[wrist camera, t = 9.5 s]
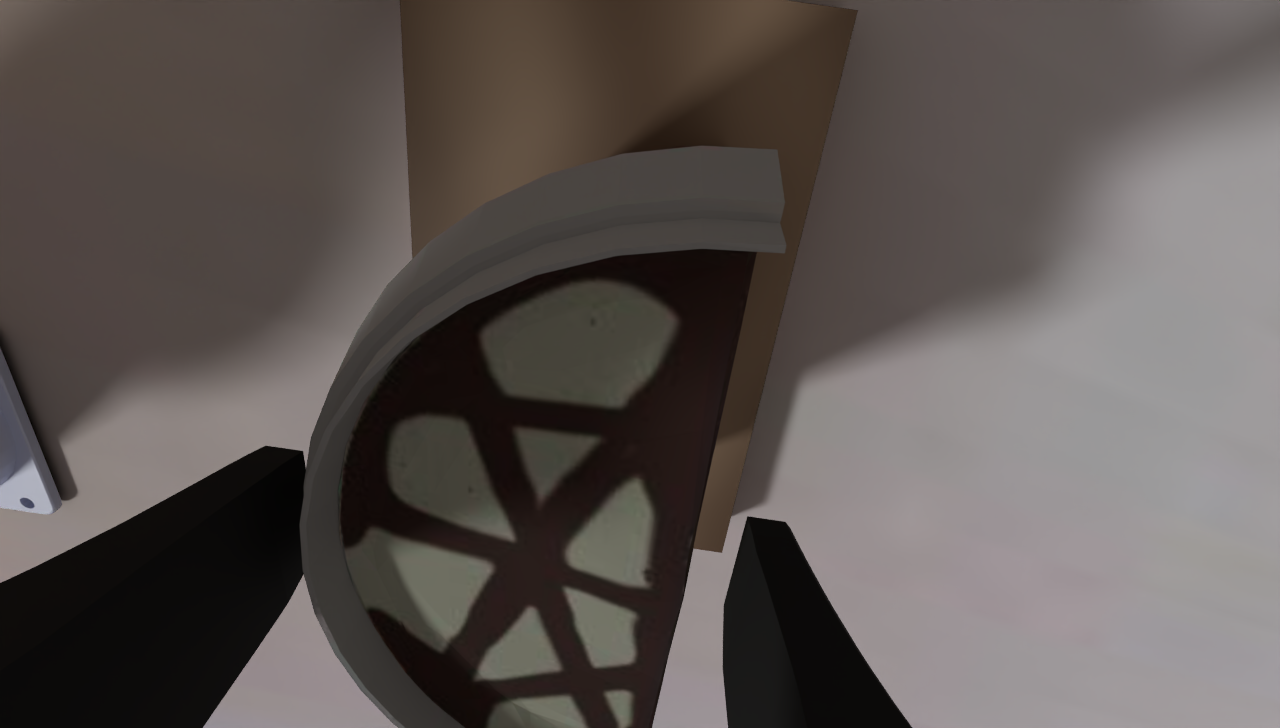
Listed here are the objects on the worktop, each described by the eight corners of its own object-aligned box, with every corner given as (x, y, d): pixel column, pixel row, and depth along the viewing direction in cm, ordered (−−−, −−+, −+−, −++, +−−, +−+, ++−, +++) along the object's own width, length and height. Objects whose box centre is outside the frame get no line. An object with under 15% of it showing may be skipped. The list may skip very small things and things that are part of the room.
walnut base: (440, 480, 23) (424, 508, 22) (422, -50, 16) (397, -55, 14) (720, 521, 23) (721, 552, 22) (844, 9, 15) (857, 10, 14)
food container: (473, 41, 15) (159, 99, 6) (741, 80, 15) (800, 191, 6) (473, 468, 21) (313, 800, 12) (664, 496, 21) (640, 851, 12)
